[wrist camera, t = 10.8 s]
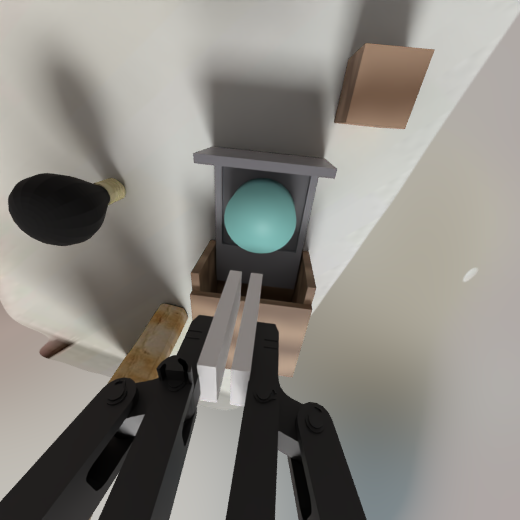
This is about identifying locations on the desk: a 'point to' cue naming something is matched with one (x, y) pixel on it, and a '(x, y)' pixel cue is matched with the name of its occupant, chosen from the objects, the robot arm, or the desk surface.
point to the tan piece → (153, 345)
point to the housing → (260, 306)
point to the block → (382, 85)
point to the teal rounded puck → (261, 216)
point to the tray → (286, 173)
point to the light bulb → (62, 207)
